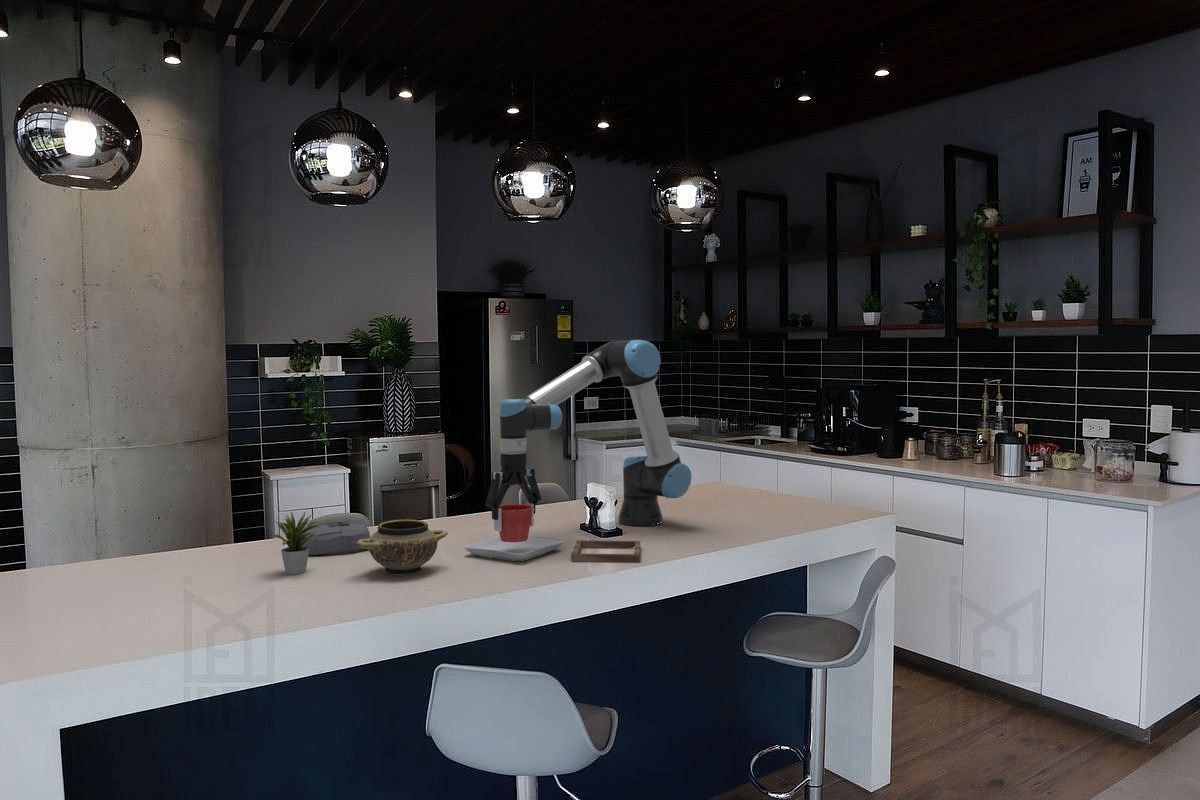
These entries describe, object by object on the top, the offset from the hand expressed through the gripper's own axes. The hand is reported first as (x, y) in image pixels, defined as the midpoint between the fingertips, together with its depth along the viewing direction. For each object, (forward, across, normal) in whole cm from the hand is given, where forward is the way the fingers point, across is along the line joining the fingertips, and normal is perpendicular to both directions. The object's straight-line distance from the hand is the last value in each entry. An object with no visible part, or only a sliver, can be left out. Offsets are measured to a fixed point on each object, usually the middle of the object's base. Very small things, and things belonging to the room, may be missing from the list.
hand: (514, 528), depth 252 cm
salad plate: (+8, 0, 0) cm, 8 cm away
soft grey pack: (+8, -37, +39) cm, 54 cm away
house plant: (+8, -57, +20) cm, 60 cm away
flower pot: (+4, 0, 0) cm, 4 cm away
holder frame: (+7, +19, -19) cm, 28 cm away
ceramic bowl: (+8, -35, +2) cm, 36 cm away
